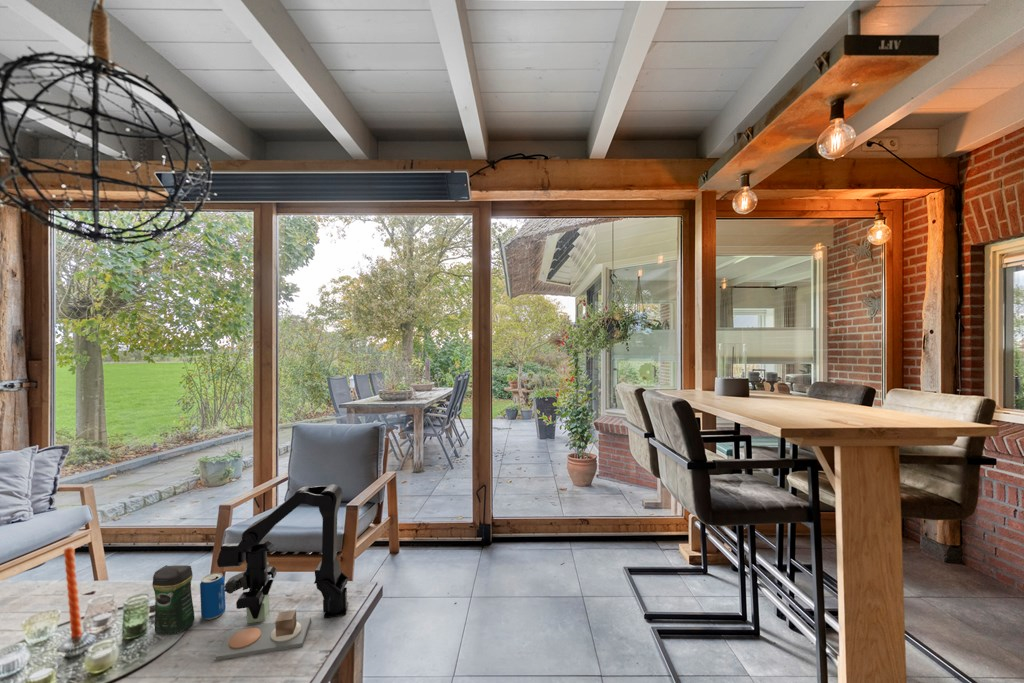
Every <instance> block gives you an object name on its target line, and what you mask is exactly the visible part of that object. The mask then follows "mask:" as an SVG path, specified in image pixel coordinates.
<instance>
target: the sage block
mask: <svg viewBox="0 0 1024 683" xmlns="http://www.w3.org/2000/svg"><path fill="white" fill-rule="evenodd" d="M263 596H265V598H264V601H263V604H262V607H261V610H260V613H259V615H258V618H257V619H253V617H252V614H251V612H250V610H249V608H246V624H251V623H256V622H257V623H258V622H259V623H260V622H265V621H266V620H267V617H268V615H269V613H270V611H271V610H270V609H271V606H270V604H271V603H270V594H269V593H268V595H263Z"/></svg>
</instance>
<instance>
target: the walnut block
mask: <svg viewBox="0 0 1024 683" xmlns="http://www.w3.org/2000/svg"><path fill="white" fill-rule="evenodd" d="M296 619H297V610H296V609H292V610H286V611H285V610H284V611H279V613H278V615H277V618H275V621H274V622H275V626H276V637H278V636H285V635H291V634H293V632H294V630H295V627H296V625H297V623H296Z"/></svg>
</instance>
